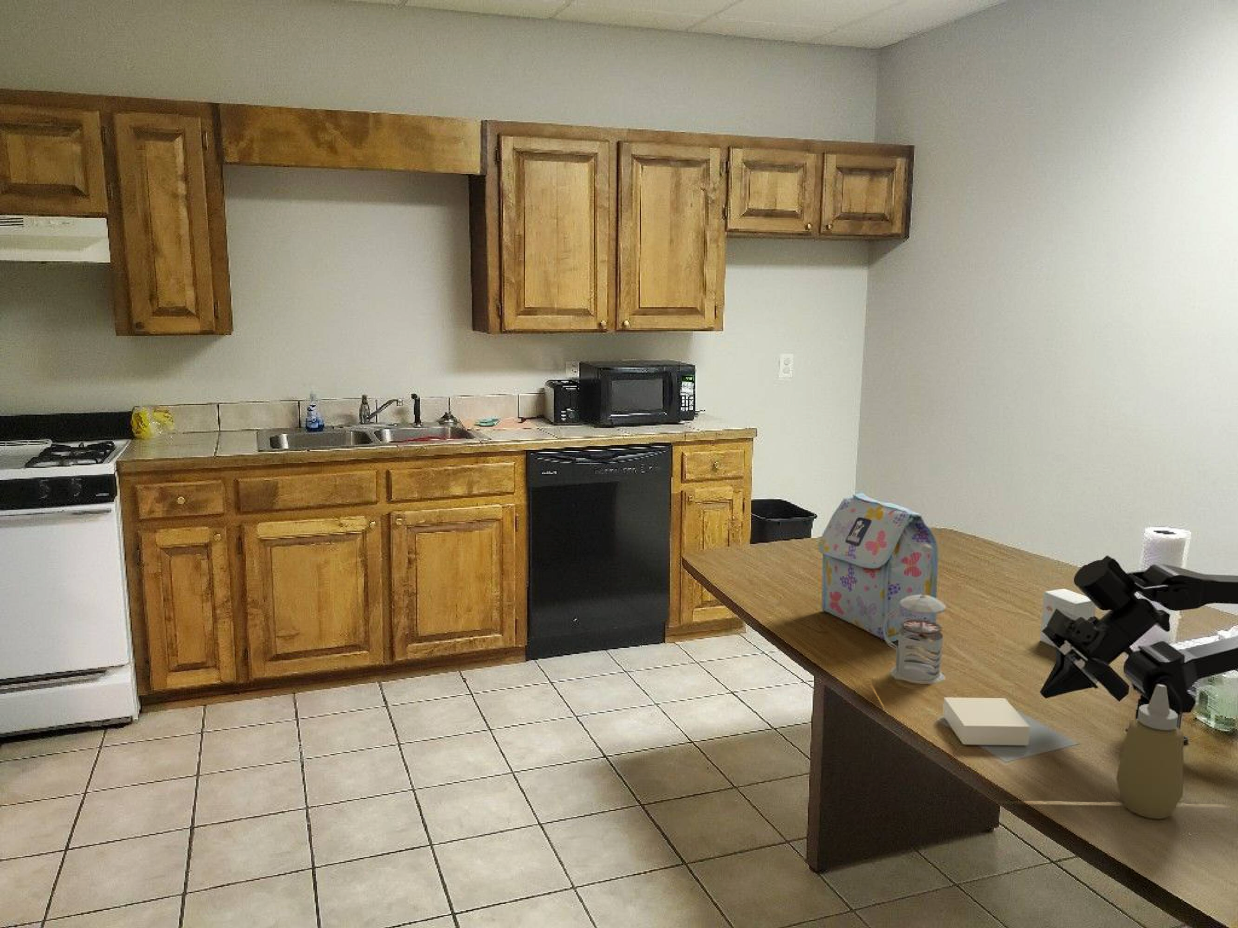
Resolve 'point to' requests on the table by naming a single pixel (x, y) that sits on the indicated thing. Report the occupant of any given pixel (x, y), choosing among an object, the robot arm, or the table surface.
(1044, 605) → the small box
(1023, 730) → the tile
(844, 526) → the lunch bag
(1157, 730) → the squeeze bottle
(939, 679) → the french press
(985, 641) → the table surface
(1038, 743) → the mat
